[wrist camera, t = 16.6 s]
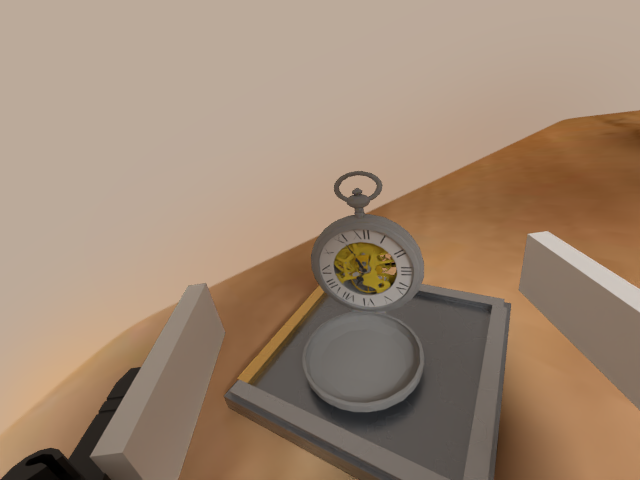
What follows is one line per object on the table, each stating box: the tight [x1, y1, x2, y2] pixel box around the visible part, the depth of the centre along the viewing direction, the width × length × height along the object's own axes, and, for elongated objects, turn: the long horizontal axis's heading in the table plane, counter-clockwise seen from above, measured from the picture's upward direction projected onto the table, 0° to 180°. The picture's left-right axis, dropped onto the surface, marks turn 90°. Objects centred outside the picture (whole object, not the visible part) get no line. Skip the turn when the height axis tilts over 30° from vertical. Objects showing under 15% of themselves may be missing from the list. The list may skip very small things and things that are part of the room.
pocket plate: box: [224, 272, 511, 480], centre depth 19 cm, size 13×13×1 cm
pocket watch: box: [302, 171, 425, 412], centre depth 17 cm, size 8×8×10 cm
